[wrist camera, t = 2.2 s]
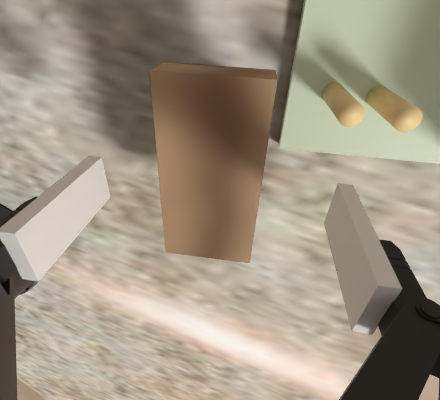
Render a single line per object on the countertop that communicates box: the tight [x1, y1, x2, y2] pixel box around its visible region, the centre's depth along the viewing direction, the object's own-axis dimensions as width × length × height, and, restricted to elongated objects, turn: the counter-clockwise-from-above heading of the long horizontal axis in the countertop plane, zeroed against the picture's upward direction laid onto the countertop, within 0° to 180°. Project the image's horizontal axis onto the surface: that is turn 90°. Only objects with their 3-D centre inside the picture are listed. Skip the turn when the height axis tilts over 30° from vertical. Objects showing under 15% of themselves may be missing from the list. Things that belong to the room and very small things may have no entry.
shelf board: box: [149, 62, 277, 263], centre depth 17 cm, size 6×12×2 cm, turn 177°
